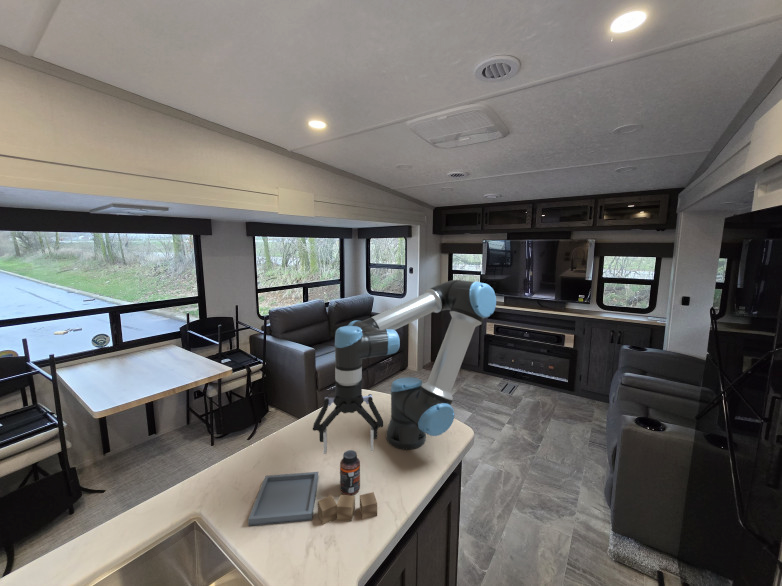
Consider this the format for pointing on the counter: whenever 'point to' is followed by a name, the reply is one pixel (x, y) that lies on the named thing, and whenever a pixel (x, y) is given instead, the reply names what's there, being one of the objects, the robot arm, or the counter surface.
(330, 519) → the block
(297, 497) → the tray
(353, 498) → the block
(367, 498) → the block
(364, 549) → the counter surface
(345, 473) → the supplement bottle
